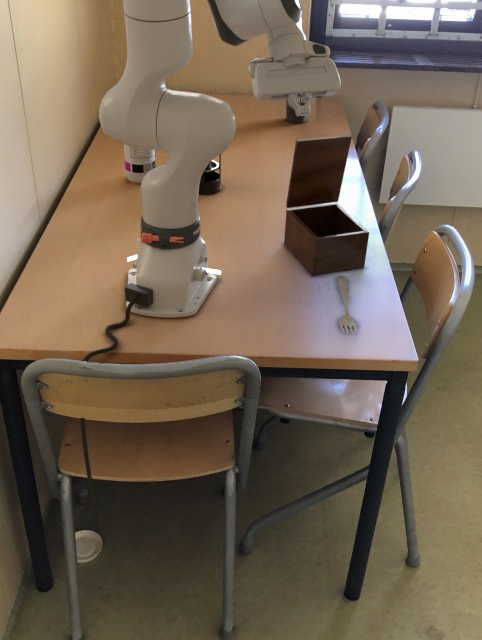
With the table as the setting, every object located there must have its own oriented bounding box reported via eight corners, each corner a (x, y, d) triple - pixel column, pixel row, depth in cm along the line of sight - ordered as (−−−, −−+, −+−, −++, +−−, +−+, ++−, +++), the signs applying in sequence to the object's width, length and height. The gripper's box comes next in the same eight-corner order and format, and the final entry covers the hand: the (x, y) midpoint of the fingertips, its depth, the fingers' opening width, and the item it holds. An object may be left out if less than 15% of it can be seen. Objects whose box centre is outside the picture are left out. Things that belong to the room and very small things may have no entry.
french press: (218, 197, 184) (218, 109, 171) (182, 193, 185) (181, 106, 172) (225, 180, 194) (226, 95, 180) (191, 177, 194) (190, 93, 181)
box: (364, 268, 155) (369, 231, 150) (311, 276, 151) (315, 239, 146) (333, 237, 167) (337, 202, 162) (283, 244, 163) (286, 209, 158)
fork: (348, 277, 151) (349, 270, 150) (358, 342, 131) (359, 334, 130) (333, 277, 151) (334, 270, 150) (341, 341, 131) (342, 333, 130)
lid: (351, 136, 150) (350, 134, 151) (297, 141, 146) (296, 139, 147) (338, 201, 162) (336, 200, 162) (287, 208, 158) (285, 206, 158)
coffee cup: (277, 117, 242) (279, 72, 233) (301, 114, 245) (305, 70, 237) (289, 125, 235) (292, 79, 226) (314, 123, 238) (318, 77, 230)
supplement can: (119, 180, 191) (115, 125, 182) (137, 170, 197) (134, 117, 188) (144, 186, 188) (141, 131, 179) (161, 176, 194) (159, 122, 185)
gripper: (250, 51, 151) (264, 112, 149) (335, 46, 157) (349, 104, 156) (242, 66, 157) (256, 125, 155) (325, 61, 163) (338, 117, 162)
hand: (303, 114), depth 156 cm, fingers closed
